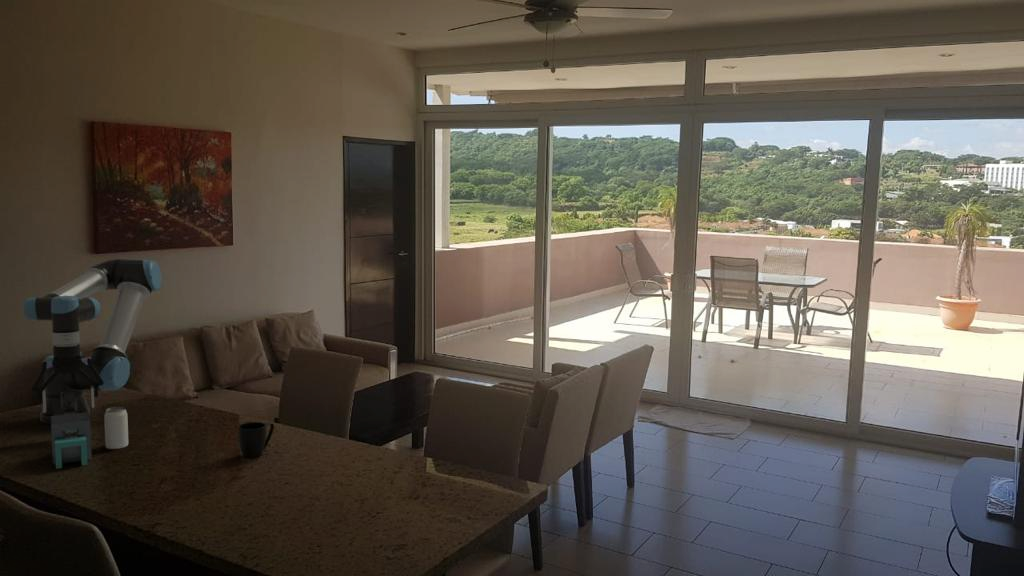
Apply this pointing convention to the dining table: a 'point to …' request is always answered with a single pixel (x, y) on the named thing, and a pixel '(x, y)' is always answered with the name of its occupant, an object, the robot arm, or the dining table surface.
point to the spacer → (70, 443)
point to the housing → (66, 424)
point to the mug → (253, 438)
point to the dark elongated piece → (69, 408)
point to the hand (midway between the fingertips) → (69, 409)
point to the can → (116, 428)
